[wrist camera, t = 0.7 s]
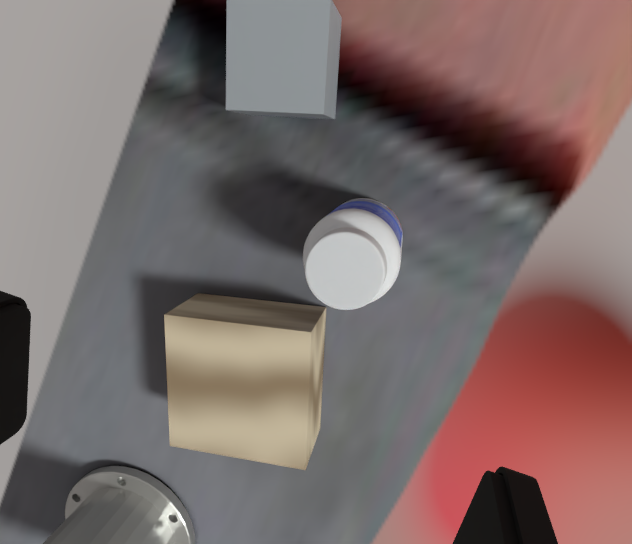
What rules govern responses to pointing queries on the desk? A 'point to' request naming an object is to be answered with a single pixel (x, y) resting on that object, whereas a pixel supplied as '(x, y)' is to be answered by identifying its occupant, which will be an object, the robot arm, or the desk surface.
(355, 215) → the pill bottle
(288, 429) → the oak block
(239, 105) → the grey block
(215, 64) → the desk surface
